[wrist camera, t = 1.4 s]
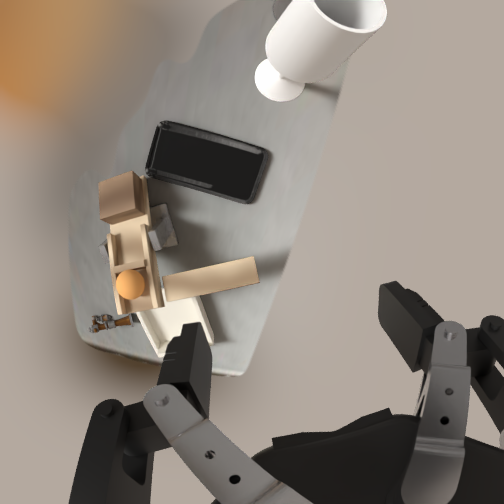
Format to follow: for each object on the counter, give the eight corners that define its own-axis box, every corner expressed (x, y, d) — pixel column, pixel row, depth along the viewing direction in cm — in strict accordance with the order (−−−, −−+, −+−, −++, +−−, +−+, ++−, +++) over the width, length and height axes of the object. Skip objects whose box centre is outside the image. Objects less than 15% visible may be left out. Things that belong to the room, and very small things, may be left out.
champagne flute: (257, 52, 31) (290, -53, 8) (307, 60, 31) (397, -21, 9) (252, 98, 33) (283, 32, 11) (303, 105, 34) (402, 64, 11)
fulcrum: (110, 219, 38) (90, 234, 32) (166, 202, 37) (153, 215, 31) (123, 257, 40) (107, 276, 34) (178, 243, 40) (169, 262, 34)
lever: (111, 190, 36) (96, 180, 32) (231, 155, 35) (226, 139, 32) (125, 313, 33) (110, 315, 29) (260, 287, 33) (259, 285, 29)
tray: (135, 291, 42) (128, 303, 39) (194, 279, 42) (191, 291, 39) (159, 344, 46) (155, 357, 43) (214, 335, 46) (213, 349, 43)
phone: (159, 118, 32) (270, 150, 35) (161, 119, 33) (269, 150, 36) (143, 176, 35) (250, 207, 38) (145, 175, 36) (250, 205, 39)
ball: (118, 268, 32) (106, 279, 29) (142, 262, 32) (133, 273, 29) (127, 293, 33) (118, 307, 30) (152, 288, 33) (144, 302, 30)
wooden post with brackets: (86, 314, 42) (86, 328, 39) (128, 304, 46) (131, 318, 42) (89, 322, 43) (89, 337, 39) (131, 313, 46) (134, 327, 43)
